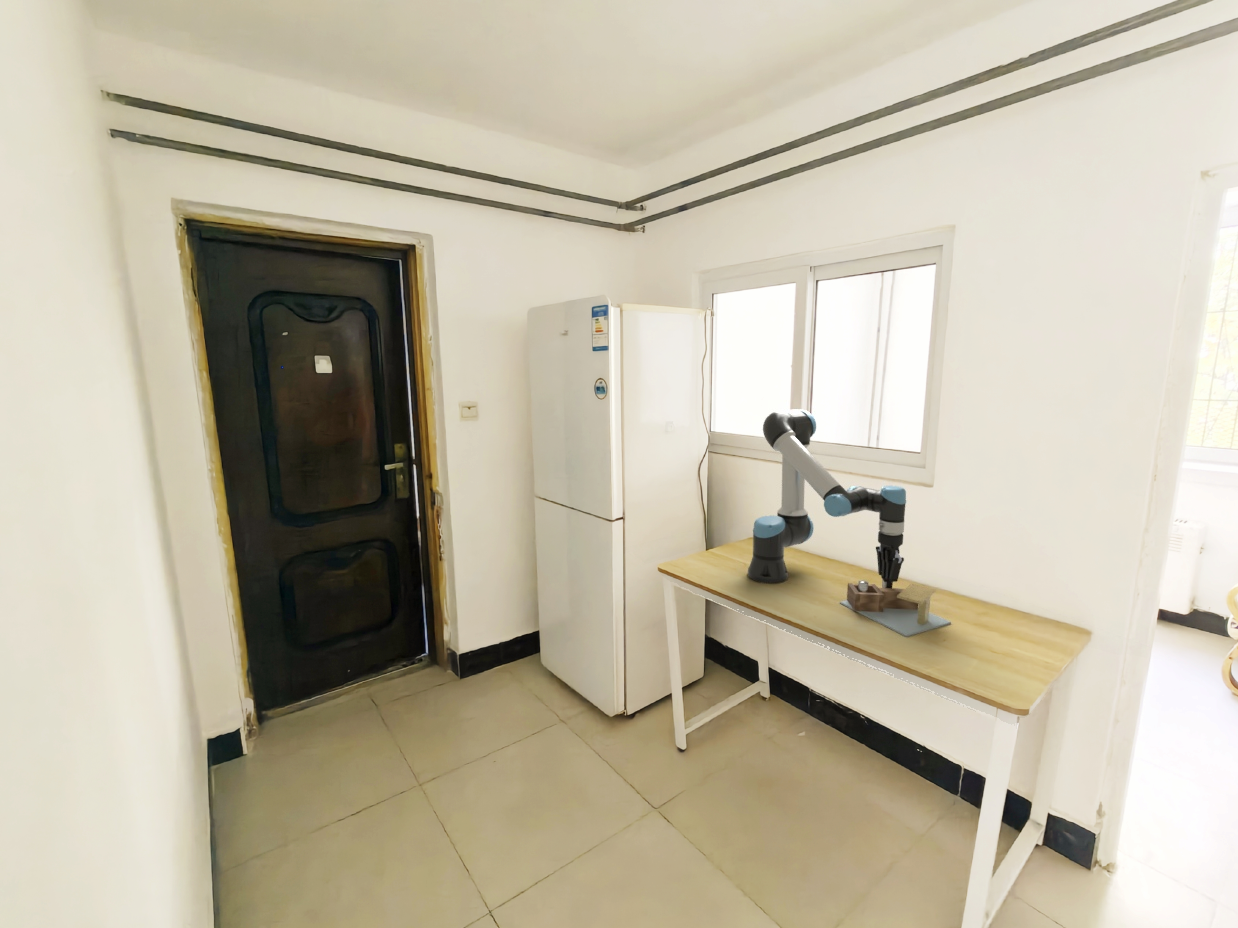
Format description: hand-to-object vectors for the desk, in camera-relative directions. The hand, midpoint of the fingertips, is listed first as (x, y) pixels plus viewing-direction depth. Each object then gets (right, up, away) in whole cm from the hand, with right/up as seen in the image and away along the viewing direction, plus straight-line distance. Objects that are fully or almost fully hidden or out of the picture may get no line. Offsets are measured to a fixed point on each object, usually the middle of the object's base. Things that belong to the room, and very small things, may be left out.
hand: (886, 597), depth 182 cm
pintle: (-9, -2, -1) cm, 9 cm away
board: (-1, -3, -7) cm, 7 cm away
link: (-3, -2, -3) cm, 4 cm away
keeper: (+3, -4, -12) cm, 13 cm away
